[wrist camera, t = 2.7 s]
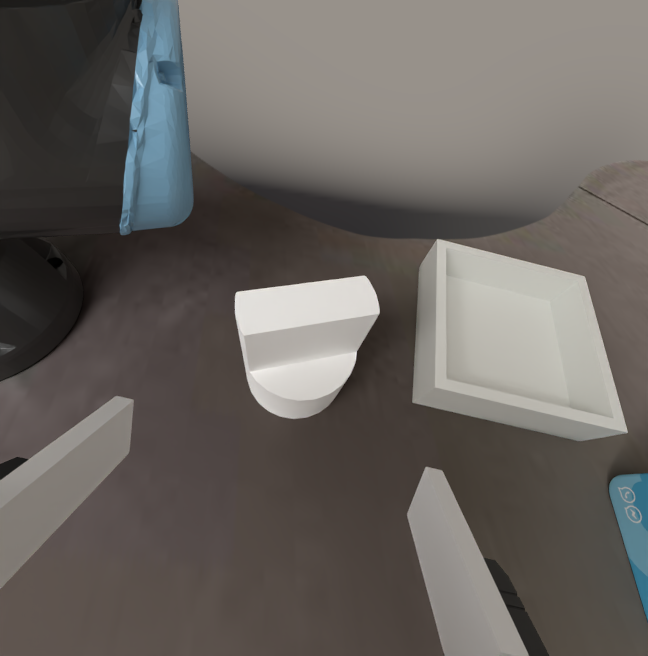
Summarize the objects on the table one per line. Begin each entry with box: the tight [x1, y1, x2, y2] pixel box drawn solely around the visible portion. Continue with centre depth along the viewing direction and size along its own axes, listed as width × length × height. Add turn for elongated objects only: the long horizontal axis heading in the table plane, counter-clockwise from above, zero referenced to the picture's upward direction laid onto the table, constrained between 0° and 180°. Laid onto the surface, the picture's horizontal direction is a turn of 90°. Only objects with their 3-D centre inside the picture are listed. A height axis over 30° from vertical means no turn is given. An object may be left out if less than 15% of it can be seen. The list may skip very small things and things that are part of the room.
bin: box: [412, 239, 628, 442], centre depth 33 cm, size 17×17×5 cm
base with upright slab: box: [235, 276, 380, 419], centre depth 25 cm, size 9×9×12 cm
